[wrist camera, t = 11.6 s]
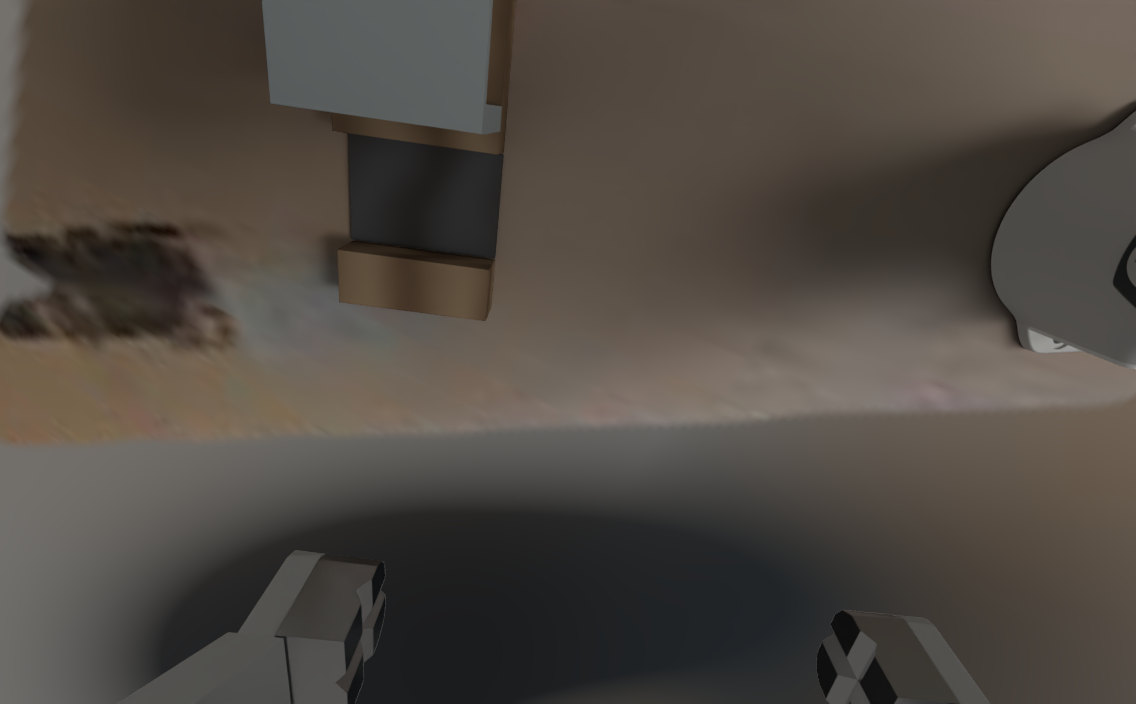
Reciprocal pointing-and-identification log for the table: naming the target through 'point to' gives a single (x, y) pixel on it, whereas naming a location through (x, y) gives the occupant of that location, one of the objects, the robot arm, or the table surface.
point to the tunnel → (384, 59)
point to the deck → (427, 204)
